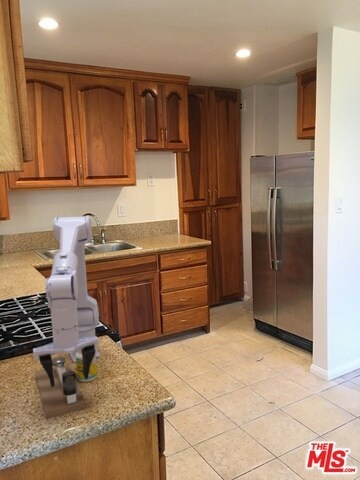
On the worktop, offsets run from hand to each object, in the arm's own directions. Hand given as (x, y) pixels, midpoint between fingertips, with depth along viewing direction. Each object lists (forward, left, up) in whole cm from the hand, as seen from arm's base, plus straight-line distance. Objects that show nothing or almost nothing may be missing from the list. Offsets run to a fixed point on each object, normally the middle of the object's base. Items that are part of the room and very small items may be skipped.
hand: (69, 380), depth 92 cm
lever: (-8, 0, -5) cm, 10 cm away
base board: (-9, -2, -7) cm, 11 cm away
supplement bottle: (-12, +7, -7) cm, 16 cm away
